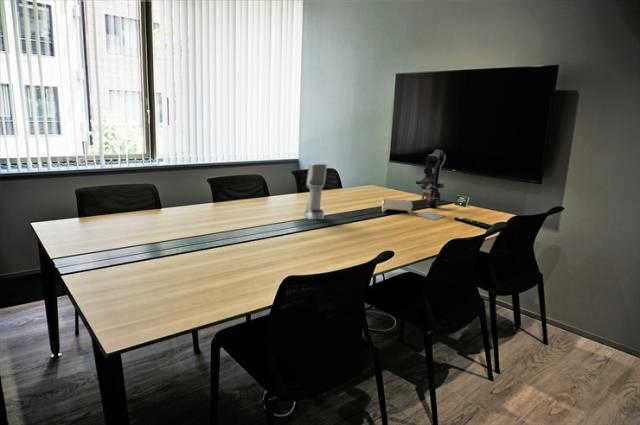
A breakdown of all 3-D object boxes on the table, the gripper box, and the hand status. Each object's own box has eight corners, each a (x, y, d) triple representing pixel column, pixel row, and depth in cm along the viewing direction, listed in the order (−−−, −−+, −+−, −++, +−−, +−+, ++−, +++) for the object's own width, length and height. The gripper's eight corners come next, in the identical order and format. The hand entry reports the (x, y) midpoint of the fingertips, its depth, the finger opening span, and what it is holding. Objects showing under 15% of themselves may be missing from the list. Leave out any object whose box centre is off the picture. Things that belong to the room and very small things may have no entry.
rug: (427, 212, 298) (427, 211, 298) (445, 216, 289) (446, 215, 289) (416, 215, 286) (416, 215, 286) (434, 220, 277) (435, 219, 277)
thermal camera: (308, 220, 262) (310, 164, 253) (302, 214, 274) (305, 161, 265) (325, 219, 266) (329, 164, 257) (320, 214, 277) (322, 161, 269)
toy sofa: (410, 211, 298) (412, 197, 295) (412, 214, 289) (413, 200, 287) (381, 209, 299) (382, 195, 297) (381, 212, 291) (382, 198, 288)
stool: (425, 198, 295) (427, 188, 294) (433, 200, 291) (434, 190, 290) (421, 199, 291) (422, 189, 289) (429, 201, 287) (430, 190, 285)
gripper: (412, 172, 287) (410, 194, 291) (437, 176, 275) (434, 199, 279) (421, 171, 295) (418, 193, 299) (445, 175, 283) (442, 198, 287)
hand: (428, 196), depth 291 cm, fingers closed on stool, 6 cm apart
